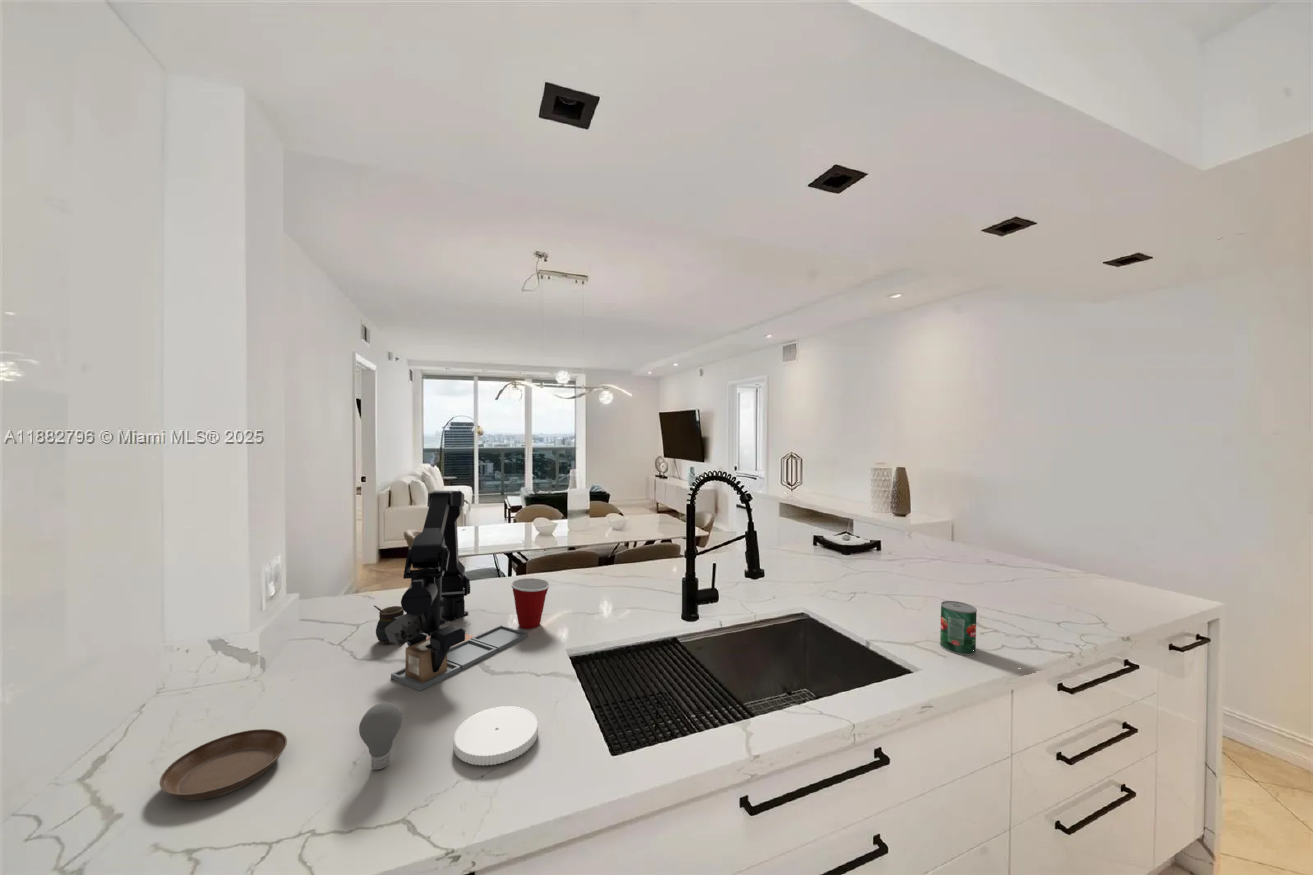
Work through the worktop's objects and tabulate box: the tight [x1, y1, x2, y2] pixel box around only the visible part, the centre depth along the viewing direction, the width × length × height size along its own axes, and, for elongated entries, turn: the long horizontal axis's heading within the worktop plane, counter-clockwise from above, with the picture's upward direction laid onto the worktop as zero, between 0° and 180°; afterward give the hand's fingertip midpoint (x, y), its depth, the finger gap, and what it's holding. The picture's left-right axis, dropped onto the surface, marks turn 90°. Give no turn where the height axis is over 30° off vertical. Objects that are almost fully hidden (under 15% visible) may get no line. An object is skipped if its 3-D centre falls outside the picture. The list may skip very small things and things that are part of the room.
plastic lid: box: [453, 705, 539, 766], centre depth 84 cm, size 14×14×2 cm
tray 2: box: [447, 639, 498, 671], centre depth 115 cm, size 10×10×1 cm
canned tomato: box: [939, 600, 978, 656], centre depth 124 cm, size 8×8×11 cm
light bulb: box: [358, 701, 403, 770], centre depth 77 cm, size 6×6×10 cm
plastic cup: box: [510, 577, 552, 630], centre depth 134 cm, size 11×11×12 cm
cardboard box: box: [404, 638, 447, 682], centre depth 106 cm, size 6×6×6 cm
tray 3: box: [471, 624, 529, 652], centre depth 124 cm, size 10×10×1 cm
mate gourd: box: [373, 605, 405, 645], centre depth 122 cm, size 7×8×10 cm
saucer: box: [159, 728, 288, 801], centre depth 75 cm, size 15×15×3 cm
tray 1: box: [390, 661, 462, 692], centre depth 106 cm, size 10×10×1 cm
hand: (426, 668), depth 106 cm, fingers closed on cardboard box, 6 cm apart
